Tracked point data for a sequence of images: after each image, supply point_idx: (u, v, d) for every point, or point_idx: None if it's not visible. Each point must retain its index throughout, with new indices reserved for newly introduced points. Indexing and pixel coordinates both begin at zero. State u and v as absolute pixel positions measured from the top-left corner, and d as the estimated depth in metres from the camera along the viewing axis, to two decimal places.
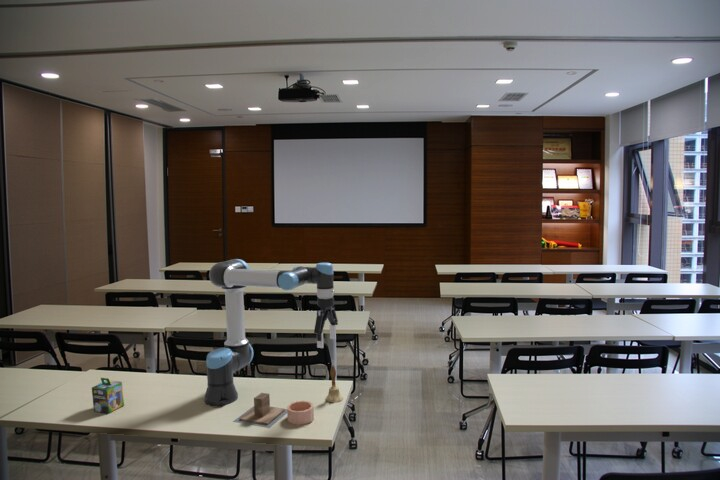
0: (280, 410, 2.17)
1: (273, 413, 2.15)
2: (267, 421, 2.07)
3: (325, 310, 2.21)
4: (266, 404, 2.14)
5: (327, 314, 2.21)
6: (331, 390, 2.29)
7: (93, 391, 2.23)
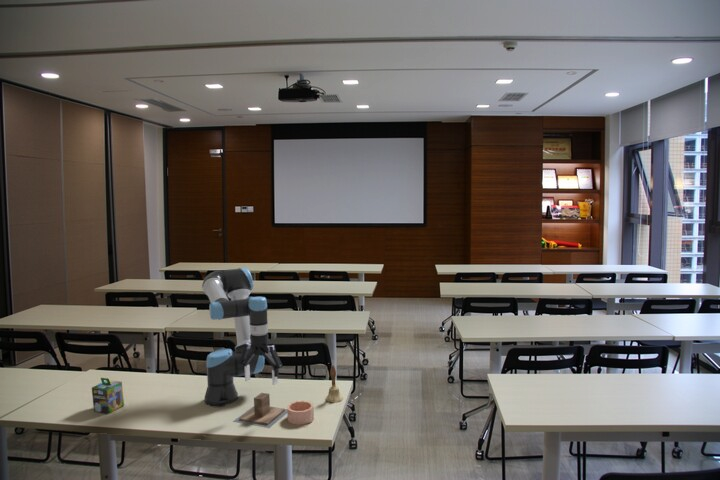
0: (280, 410, 2.17)
1: (273, 413, 2.15)
2: (267, 421, 2.07)
3: (252, 346, 2.12)
4: (266, 404, 2.14)
5: (253, 351, 2.11)
6: (331, 390, 2.29)
7: (93, 391, 2.23)
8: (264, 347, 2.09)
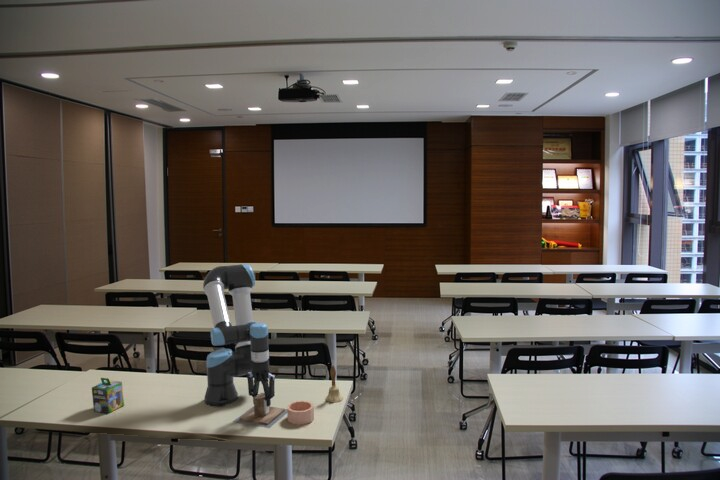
0: (280, 410, 2.17)
1: (273, 413, 2.15)
2: (267, 421, 2.07)
3: (253, 371, 2.13)
4: None
5: (255, 377, 2.12)
6: (331, 390, 2.29)
7: (93, 391, 2.23)
8: (265, 373, 2.11)
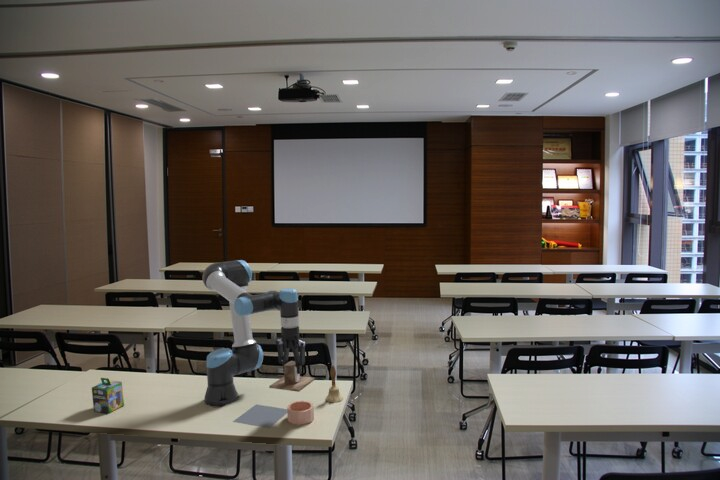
0: (310, 378, 2.12)
1: (303, 381, 2.10)
2: (298, 388, 2.02)
3: (283, 338, 2.08)
4: None
5: (285, 344, 2.07)
6: (331, 390, 2.29)
7: (93, 391, 2.23)
8: (296, 340, 2.06)
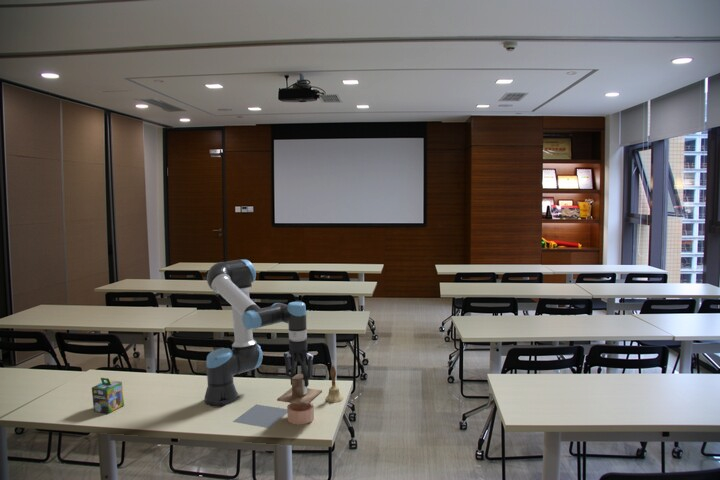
0: (317, 391, 2.13)
1: (311, 394, 2.10)
2: (306, 401, 2.03)
3: (290, 351, 2.09)
4: None
5: (293, 357, 2.08)
6: (331, 390, 2.29)
7: (93, 391, 2.23)
8: (304, 353, 2.06)
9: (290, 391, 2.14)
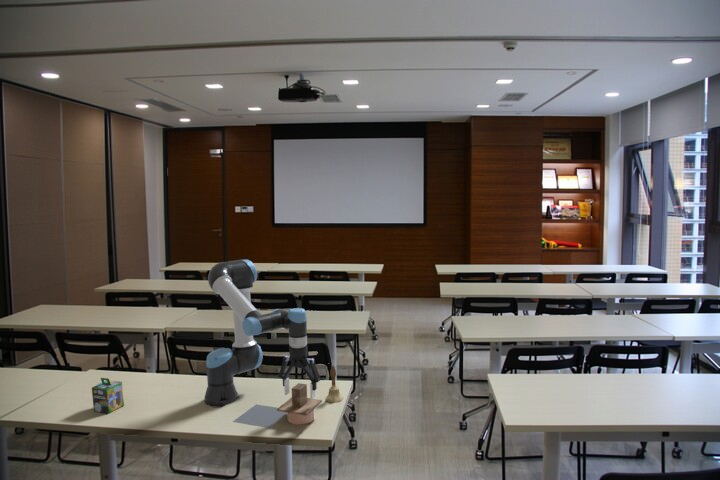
0: (317, 401, 2.14)
1: (311, 404, 2.11)
2: (306, 412, 2.03)
3: (291, 358, 2.09)
4: (304, 394, 2.10)
5: (292, 363, 2.08)
6: (331, 390, 2.29)
7: (93, 391, 2.23)
8: (303, 359, 2.07)
9: (290, 401, 2.14)
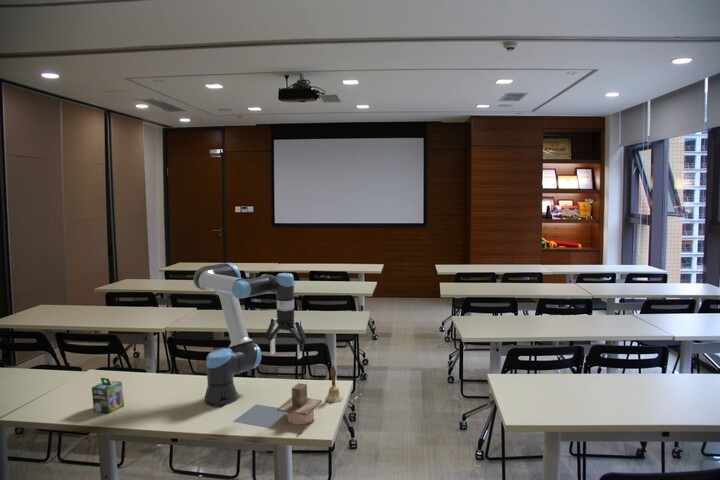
0: (317, 401, 2.14)
1: (311, 404, 2.11)
2: (306, 412, 2.03)
3: (278, 320, 2.17)
4: (304, 394, 2.10)
5: (279, 325, 2.16)
6: (331, 390, 2.29)
7: (93, 391, 2.23)
8: (290, 322, 2.15)
9: (290, 401, 2.14)
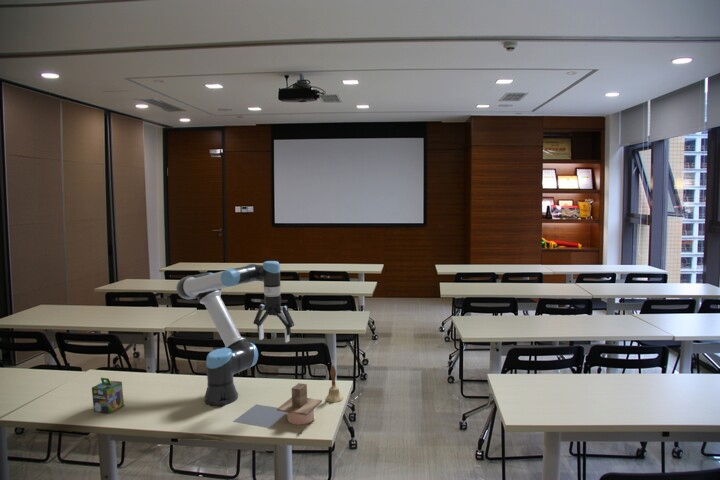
0: (317, 401, 2.14)
1: (311, 404, 2.11)
2: (306, 411, 2.03)
3: (266, 306, 2.27)
4: (304, 394, 2.10)
5: (267, 311, 2.27)
6: (331, 390, 2.29)
7: (93, 391, 2.23)
8: (277, 307, 2.25)
9: (290, 401, 2.14)
